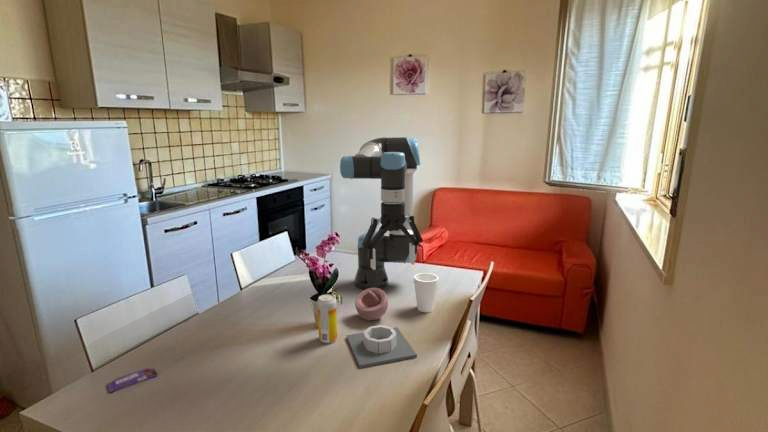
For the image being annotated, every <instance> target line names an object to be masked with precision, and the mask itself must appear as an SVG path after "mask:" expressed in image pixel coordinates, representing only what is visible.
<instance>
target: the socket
mask: <svg viewBox="0 0 768 432" xmlns="http://www.w3.org/2000/svg"><path fill="white" fill-rule="evenodd" d="M346 340H347V342H348V345H349V346H350V350H351V351H352V353H353V356H354V358H355V360H356V362H357V364H358V368H359V369H363V368H369V367H373V366H379V365H384V364H389V363H394V362H395V363H396V362H400V361H405V360H411V359H416V358H417V357H418V354H417V353H416V352H415V350H414V349H413V347H412V346H411V345H410V343H409V342H408V340H407V339H406V337H405V336H404V335H403V333H402V332H401V330H400V329H399V328H398V326H396V327H391V326H387V325H384V324H383V325H381V324H380V325H379V324H378V325H372V326H369V327H367V329H366V330H364V331H363V332H360V333H359V332H358V333H353V334H347V335H346Z"/></svg>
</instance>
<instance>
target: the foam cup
mask: <svg viewBox="0 0 768 432" xmlns="http://www.w3.org/2000/svg"><path fill="white" fill-rule="evenodd" d="M439 281H440V280H439V276H438V275H437V274H434V273H431V272H421V273H416V274H414V276H413V284H414V292H415V301H416V308H417V310H418V311H419V312H421V313H432V312H433V311H434V310H435V309H434V308H435V303H436V297H437V291H438V285H439Z"/></svg>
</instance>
